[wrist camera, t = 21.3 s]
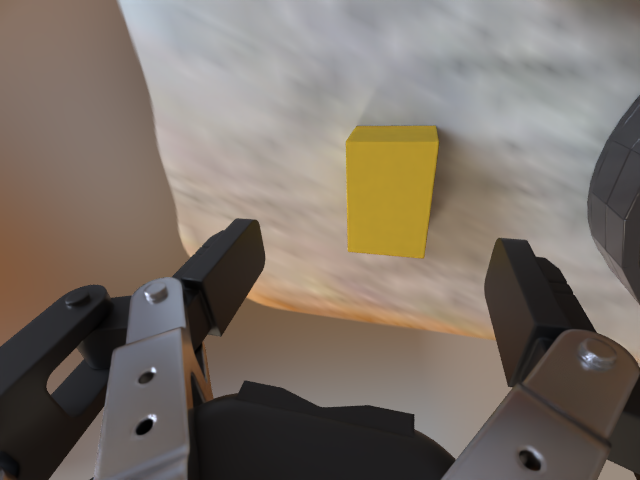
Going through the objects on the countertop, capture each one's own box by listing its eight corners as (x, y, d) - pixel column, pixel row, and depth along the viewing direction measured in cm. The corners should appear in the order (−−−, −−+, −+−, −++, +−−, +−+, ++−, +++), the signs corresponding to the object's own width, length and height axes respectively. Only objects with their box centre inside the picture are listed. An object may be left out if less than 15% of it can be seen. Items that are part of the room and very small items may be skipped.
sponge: (356, 125, 17) (345, 141, 14) (436, 125, 16) (439, 141, 14) (356, 225, 20) (347, 252, 18) (423, 230, 19) (424, 259, 17)
